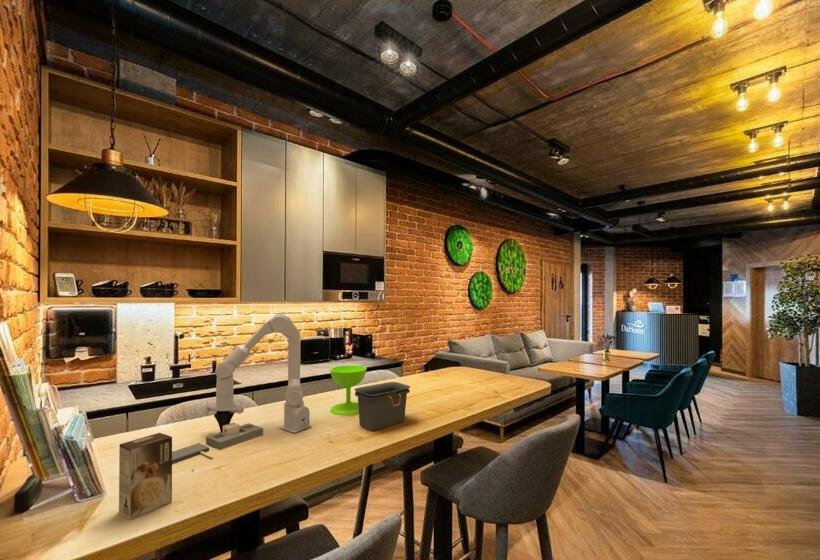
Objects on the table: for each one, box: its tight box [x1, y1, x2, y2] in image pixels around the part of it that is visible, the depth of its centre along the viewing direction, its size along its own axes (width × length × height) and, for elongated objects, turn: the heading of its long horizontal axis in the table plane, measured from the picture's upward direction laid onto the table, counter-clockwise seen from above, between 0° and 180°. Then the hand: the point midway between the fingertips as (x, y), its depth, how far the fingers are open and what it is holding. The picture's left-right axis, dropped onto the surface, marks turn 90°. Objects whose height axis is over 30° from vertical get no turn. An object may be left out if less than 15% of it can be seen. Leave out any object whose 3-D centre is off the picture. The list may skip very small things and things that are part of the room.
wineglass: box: [329, 364, 367, 416], centre depth 166 cm, size 16×16×18 cm
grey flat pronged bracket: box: [172, 442, 214, 465], centre depth 117 cm, size 14×13×1 cm
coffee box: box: [118, 432, 173, 520], centre depth 91 cm, size 9×6×16 cm
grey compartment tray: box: [205, 422, 264, 450], centre depth 132 cm, size 9×16×2 cm, turn 146°
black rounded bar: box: [13, 473, 44, 513], centre depth 94 cm, size 5×3×15 cm
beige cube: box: [223, 422, 240, 436], centre depth 134 cm, size 4×4×4 cm
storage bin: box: [353, 381, 411, 431], centre depth 147 cm, size 21×16×14 cm
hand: (224, 431), depth 136 cm, fingers closed
